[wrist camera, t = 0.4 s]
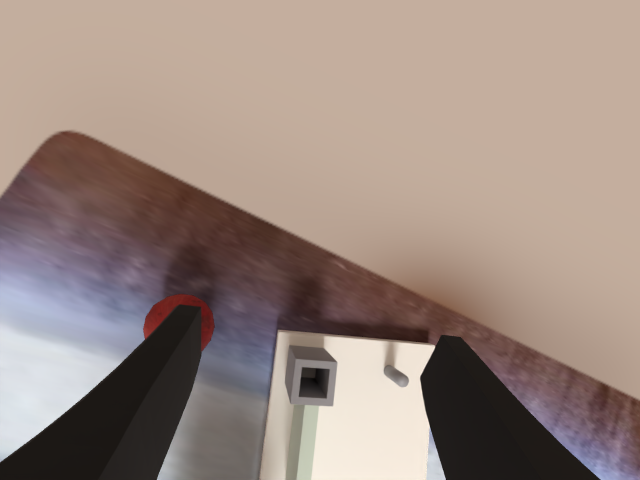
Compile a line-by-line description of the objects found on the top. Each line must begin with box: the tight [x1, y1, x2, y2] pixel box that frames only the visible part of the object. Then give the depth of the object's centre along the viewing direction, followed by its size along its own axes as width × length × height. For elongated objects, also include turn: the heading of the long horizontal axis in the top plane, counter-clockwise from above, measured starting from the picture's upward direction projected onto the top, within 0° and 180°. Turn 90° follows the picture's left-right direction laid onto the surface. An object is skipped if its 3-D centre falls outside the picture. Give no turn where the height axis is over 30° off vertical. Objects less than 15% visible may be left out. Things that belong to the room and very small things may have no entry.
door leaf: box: [285, 345, 338, 480], centre depth 31 cm, size 13×4×6 cm, turn 173°
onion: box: [143, 294, 215, 351], centre depth 31 cm, size 6×6×8 cm
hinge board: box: [259, 330, 435, 480], centre depth 34 cm, size 18×17×5 cm
